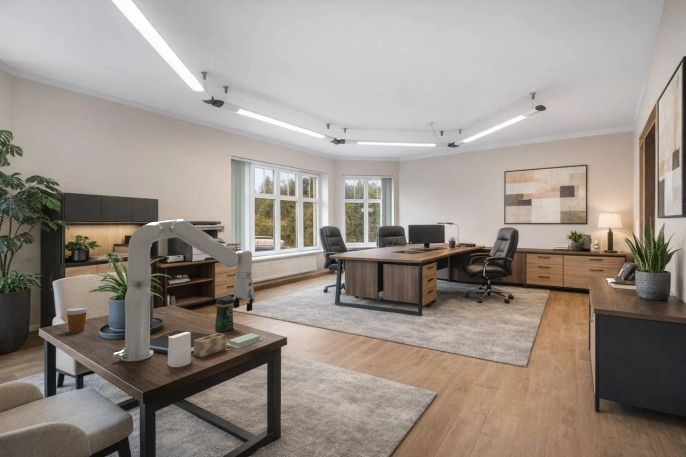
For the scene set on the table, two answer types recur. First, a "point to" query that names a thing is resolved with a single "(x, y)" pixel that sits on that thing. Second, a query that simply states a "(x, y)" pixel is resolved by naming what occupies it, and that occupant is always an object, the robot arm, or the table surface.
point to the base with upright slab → (179, 350)
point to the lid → (244, 339)
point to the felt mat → (245, 344)
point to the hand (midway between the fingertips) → (242, 309)
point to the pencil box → (209, 345)
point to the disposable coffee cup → (76, 318)
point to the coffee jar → (224, 314)
